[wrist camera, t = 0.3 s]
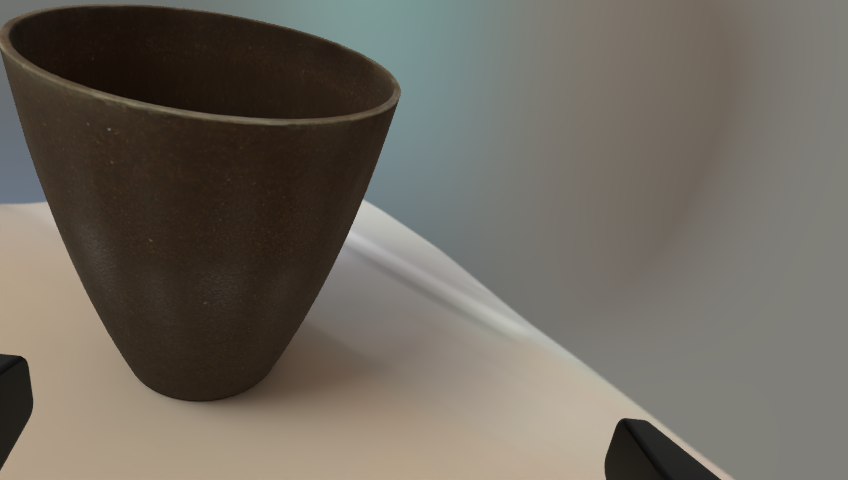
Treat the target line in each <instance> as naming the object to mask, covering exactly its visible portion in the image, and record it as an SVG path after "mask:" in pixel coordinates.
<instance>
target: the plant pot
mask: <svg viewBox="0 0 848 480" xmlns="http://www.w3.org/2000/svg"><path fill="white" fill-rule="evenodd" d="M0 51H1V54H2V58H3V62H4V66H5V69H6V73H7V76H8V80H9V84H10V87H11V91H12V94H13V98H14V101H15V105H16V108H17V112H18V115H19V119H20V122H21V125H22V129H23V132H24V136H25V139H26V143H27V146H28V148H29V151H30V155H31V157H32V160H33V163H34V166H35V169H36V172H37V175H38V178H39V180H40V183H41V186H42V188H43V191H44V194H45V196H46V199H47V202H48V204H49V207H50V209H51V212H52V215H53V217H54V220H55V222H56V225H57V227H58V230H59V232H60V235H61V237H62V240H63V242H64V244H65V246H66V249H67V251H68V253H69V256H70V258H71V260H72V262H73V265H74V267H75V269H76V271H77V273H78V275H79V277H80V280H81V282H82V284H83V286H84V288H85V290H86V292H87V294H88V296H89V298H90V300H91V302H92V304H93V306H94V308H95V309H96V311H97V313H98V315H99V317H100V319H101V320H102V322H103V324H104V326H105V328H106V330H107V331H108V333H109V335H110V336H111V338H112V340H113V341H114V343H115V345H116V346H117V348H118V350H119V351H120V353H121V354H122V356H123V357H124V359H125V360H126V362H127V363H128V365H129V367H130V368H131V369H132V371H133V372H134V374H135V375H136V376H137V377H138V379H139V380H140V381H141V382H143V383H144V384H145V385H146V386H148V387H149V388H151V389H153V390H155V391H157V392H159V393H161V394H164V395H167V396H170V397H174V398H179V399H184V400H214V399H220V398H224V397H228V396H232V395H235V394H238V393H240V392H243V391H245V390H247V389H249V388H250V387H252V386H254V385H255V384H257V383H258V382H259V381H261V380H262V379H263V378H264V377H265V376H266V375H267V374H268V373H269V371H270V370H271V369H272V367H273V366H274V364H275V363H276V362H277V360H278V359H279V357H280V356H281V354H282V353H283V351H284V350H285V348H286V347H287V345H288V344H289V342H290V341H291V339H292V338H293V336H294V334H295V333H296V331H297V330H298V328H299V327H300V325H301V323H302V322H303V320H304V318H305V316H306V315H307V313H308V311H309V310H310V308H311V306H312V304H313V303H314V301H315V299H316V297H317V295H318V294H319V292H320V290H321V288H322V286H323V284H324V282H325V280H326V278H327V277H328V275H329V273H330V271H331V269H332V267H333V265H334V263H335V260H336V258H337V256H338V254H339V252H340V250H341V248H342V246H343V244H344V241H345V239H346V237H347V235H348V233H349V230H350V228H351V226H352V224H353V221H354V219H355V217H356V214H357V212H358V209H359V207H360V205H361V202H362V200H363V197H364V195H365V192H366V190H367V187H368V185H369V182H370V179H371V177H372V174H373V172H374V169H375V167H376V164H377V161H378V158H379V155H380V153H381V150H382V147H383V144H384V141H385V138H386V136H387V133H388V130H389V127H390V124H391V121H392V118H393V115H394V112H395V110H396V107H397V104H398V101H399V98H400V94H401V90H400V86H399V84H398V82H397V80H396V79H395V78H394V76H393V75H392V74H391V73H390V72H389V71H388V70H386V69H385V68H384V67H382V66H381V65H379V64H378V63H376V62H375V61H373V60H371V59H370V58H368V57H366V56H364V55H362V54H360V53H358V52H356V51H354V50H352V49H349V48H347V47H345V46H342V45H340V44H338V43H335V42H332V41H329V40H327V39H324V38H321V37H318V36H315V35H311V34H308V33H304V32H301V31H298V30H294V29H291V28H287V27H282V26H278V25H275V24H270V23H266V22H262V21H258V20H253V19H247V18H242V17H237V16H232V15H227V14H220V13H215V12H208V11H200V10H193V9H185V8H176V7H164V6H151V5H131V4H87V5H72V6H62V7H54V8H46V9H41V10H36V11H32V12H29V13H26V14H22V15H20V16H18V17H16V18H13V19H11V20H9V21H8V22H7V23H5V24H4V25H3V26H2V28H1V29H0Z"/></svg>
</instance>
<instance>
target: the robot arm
mask: <svg viewBox="0 0 848 480" xmlns="http://www.w3.org/2000/svg"><path fill="white" fill-rule="evenodd" d="M32 409H33V395H32V388H31V381H30V374H29V367H28V363H27V361H26V359H25V358H23V357H21V356H16V355H6V354H0V470H1V468H2V467H3V465H4V463H5V461H6V460H7V458H8V456H9V454H10V452H11V451H12V449H13V447H14V445H15V443H16V442H17V440H18V438H19V436H20V434H21V433H22V431H23V429H24V427H25V425H26V424H27V422H28V420H29V418H30V416H31V413H32ZM605 476H606V480H721V479H719V478H718V477H717V476H716V475H714V474H713V473H712V472H711V471H709V470H708V469H707V468H706V467H704V466H703V465H702V464H701V463H699V462H698V461H697V460H696V459H694V458H693V457H692V456H691V455H689V454H688V453H687V452H686V451H684V450H683V449H682V448H681V447H679V446H678V445H677V444H676V443H674V442H673V441H672V440H671V439H669V438H668V437H667V436H666V435H664V434H663V433H662V432H661V431H659V430H658V429H657V428H656V427H654V426H653V425H652V424H650V423H649V422H648V421H645V420H637V419H628V418H624V419H621V420H620V421H619V422H618V423H617V426H616V428H615V431H614V434H613V437H612V440H611V443H610V446H609V449H608V451H607V454H606V458H605Z"/></svg>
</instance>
